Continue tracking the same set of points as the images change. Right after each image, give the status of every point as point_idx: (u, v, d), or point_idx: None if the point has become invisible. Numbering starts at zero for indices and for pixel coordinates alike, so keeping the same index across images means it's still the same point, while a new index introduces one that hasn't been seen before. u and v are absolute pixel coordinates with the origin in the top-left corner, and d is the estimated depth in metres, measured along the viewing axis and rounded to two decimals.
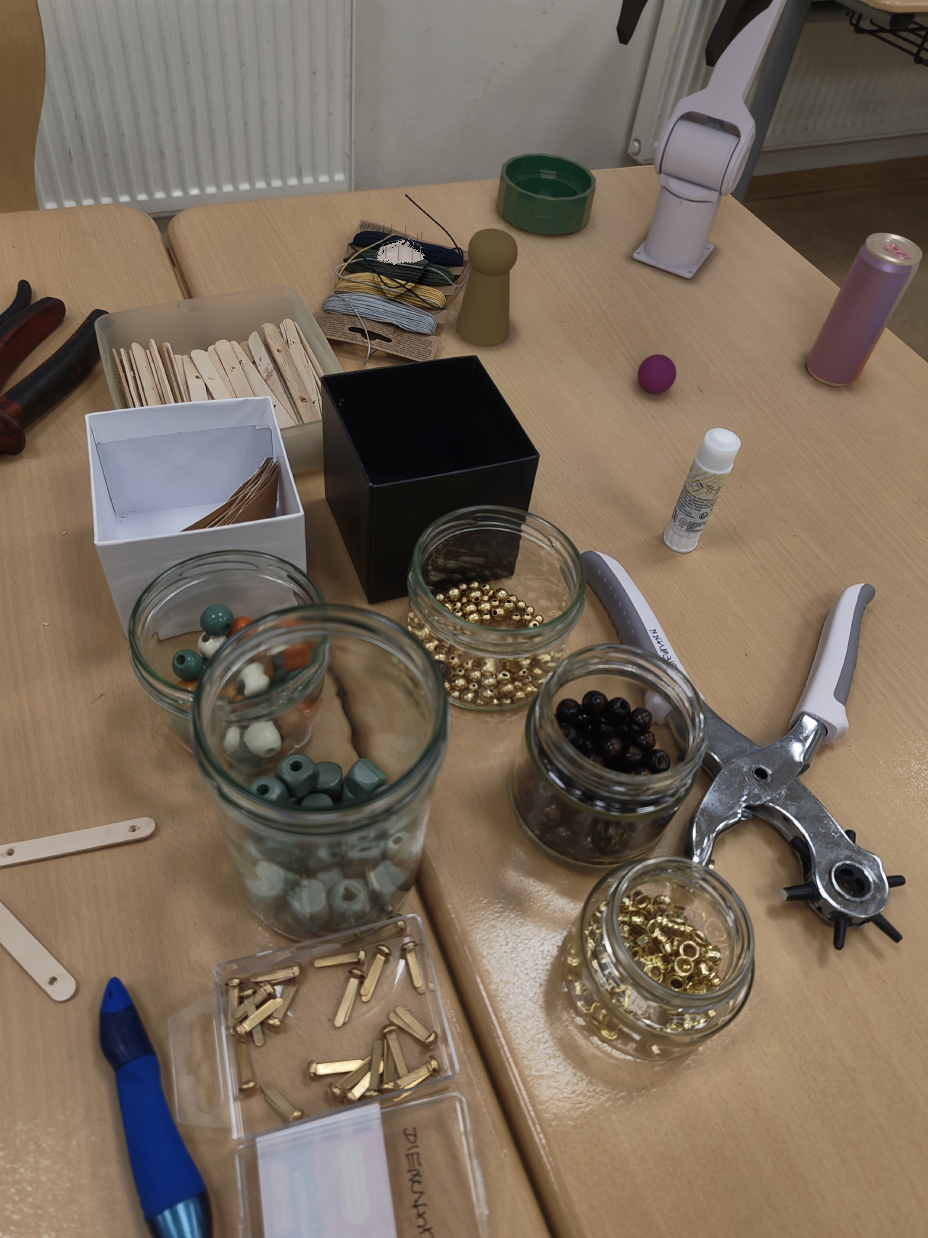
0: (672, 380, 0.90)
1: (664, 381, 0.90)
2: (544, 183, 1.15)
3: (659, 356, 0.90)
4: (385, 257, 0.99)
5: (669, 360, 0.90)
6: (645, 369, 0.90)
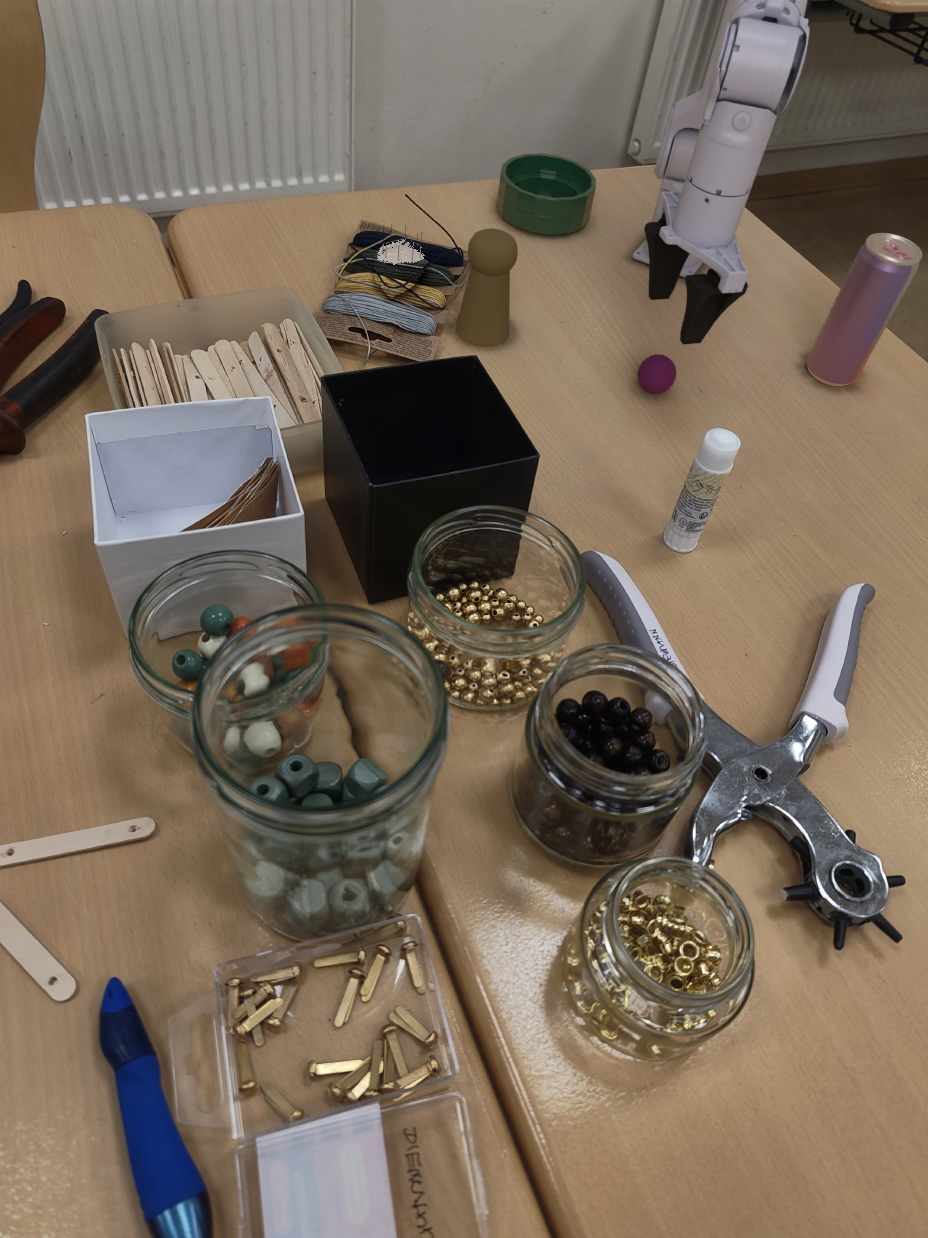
0: (672, 380, 0.90)
1: (664, 381, 0.90)
2: (544, 183, 1.15)
3: (659, 356, 0.90)
4: (385, 257, 0.99)
5: (669, 360, 0.90)
6: (645, 369, 0.90)
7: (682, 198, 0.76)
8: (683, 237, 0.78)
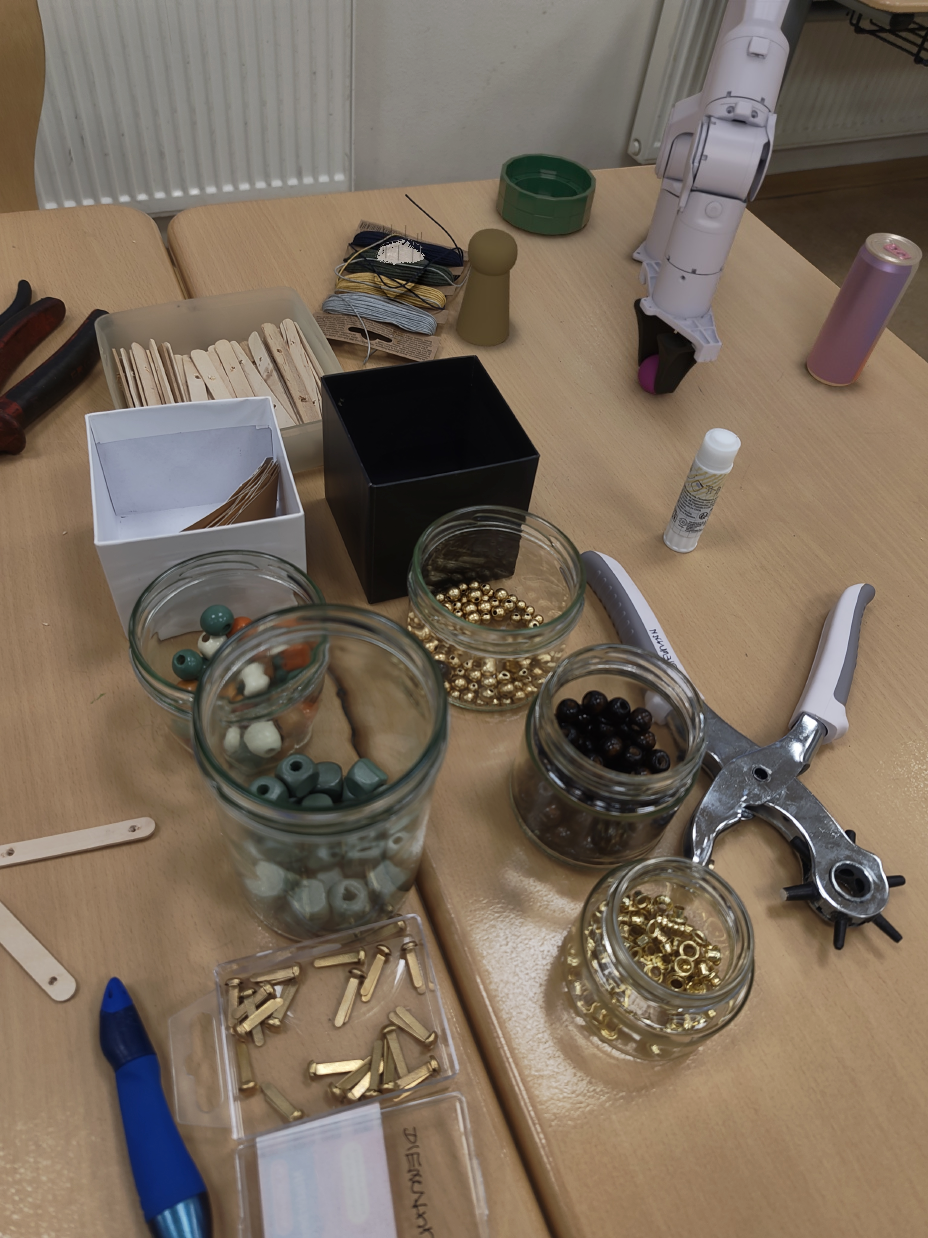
0: None
1: None
2: (544, 183, 1.15)
3: None
4: (385, 257, 0.99)
5: None
6: (645, 369, 0.90)
7: (660, 273, 0.82)
8: (662, 309, 0.83)
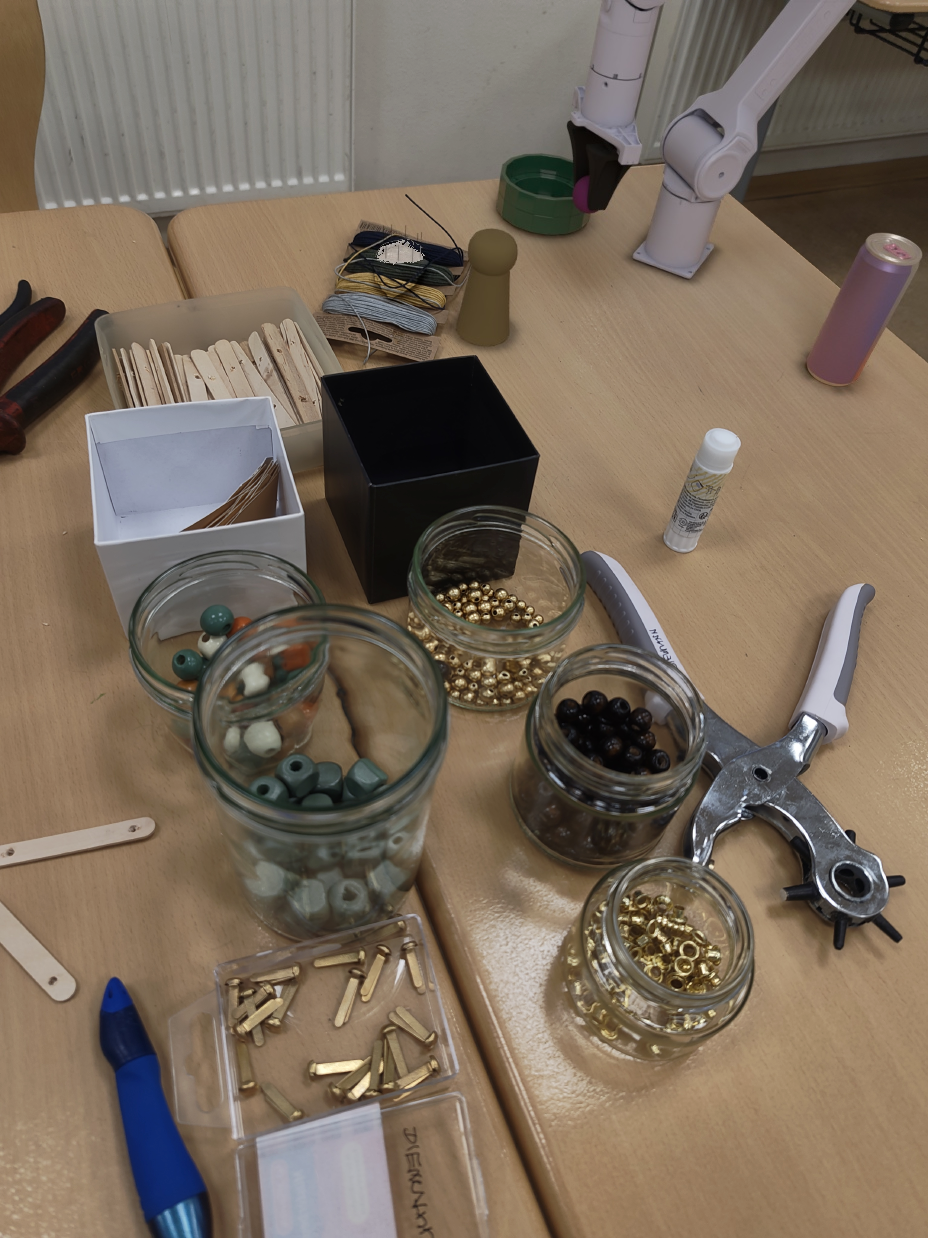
0: None
1: None
2: (544, 183, 1.15)
3: None
4: (385, 257, 0.99)
5: None
6: (578, 187, 0.98)
7: (587, 84, 0.90)
8: (589, 119, 0.92)
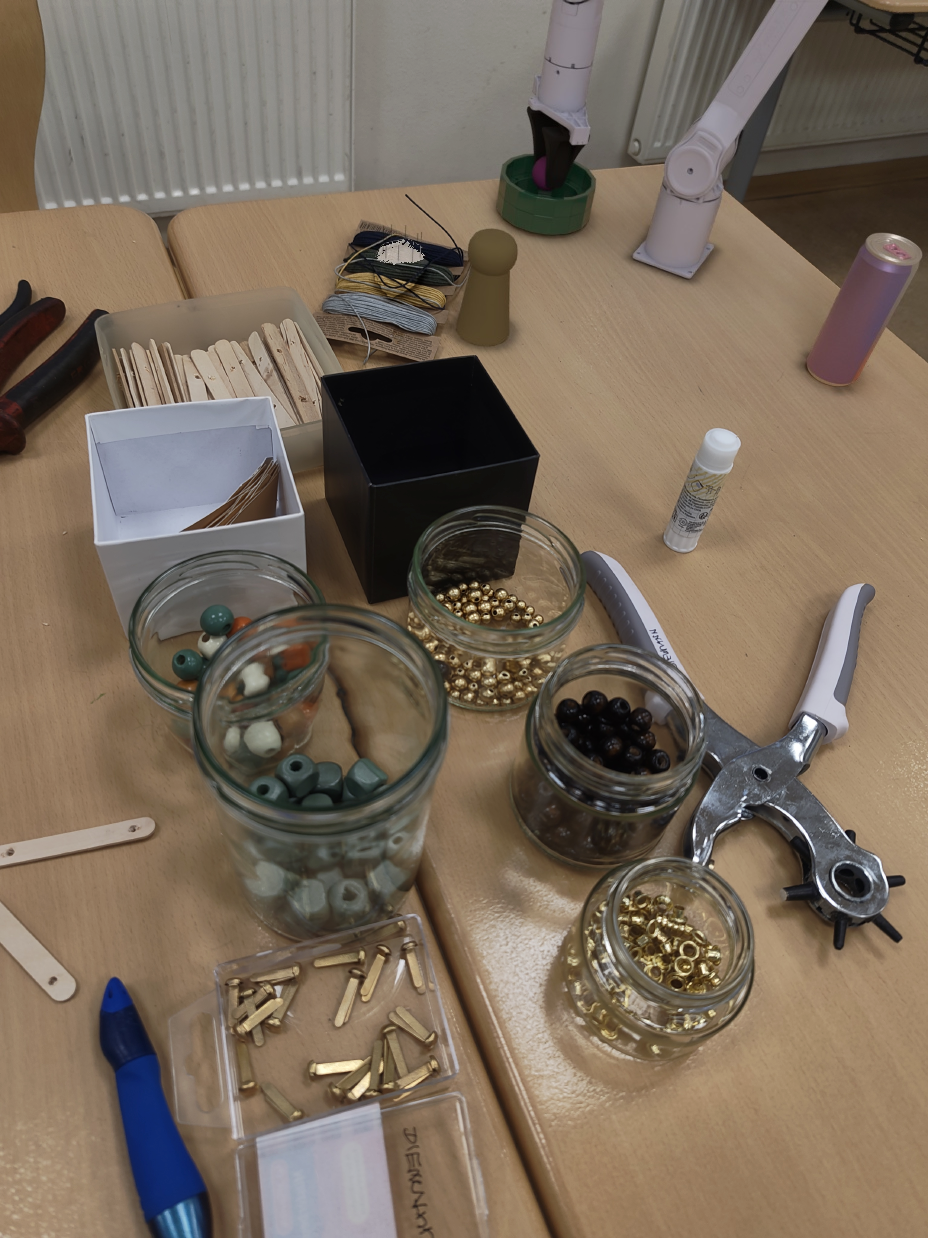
0: None
1: None
2: None
3: None
4: (385, 257, 0.99)
5: None
6: (537, 166, 1.09)
7: (542, 72, 1.01)
8: (544, 104, 1.02)
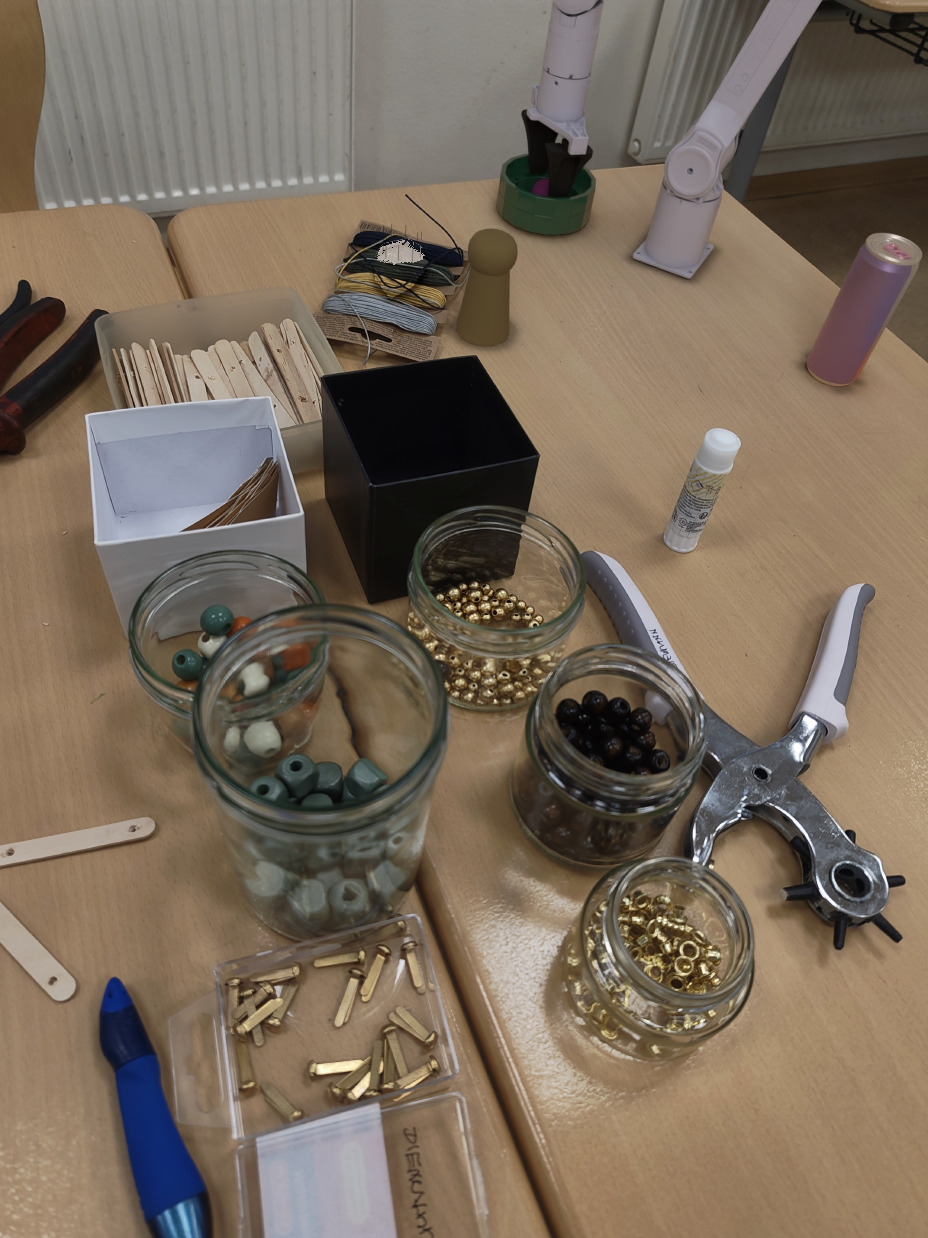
0: None
1: None
2: None
3: (547, 179, 1.11)
4: (385, 257, 0.99)
5: None
6: (535, 189, 1.11)
7: (540, 83, 1.01)
8: (543, 114, 1.03)
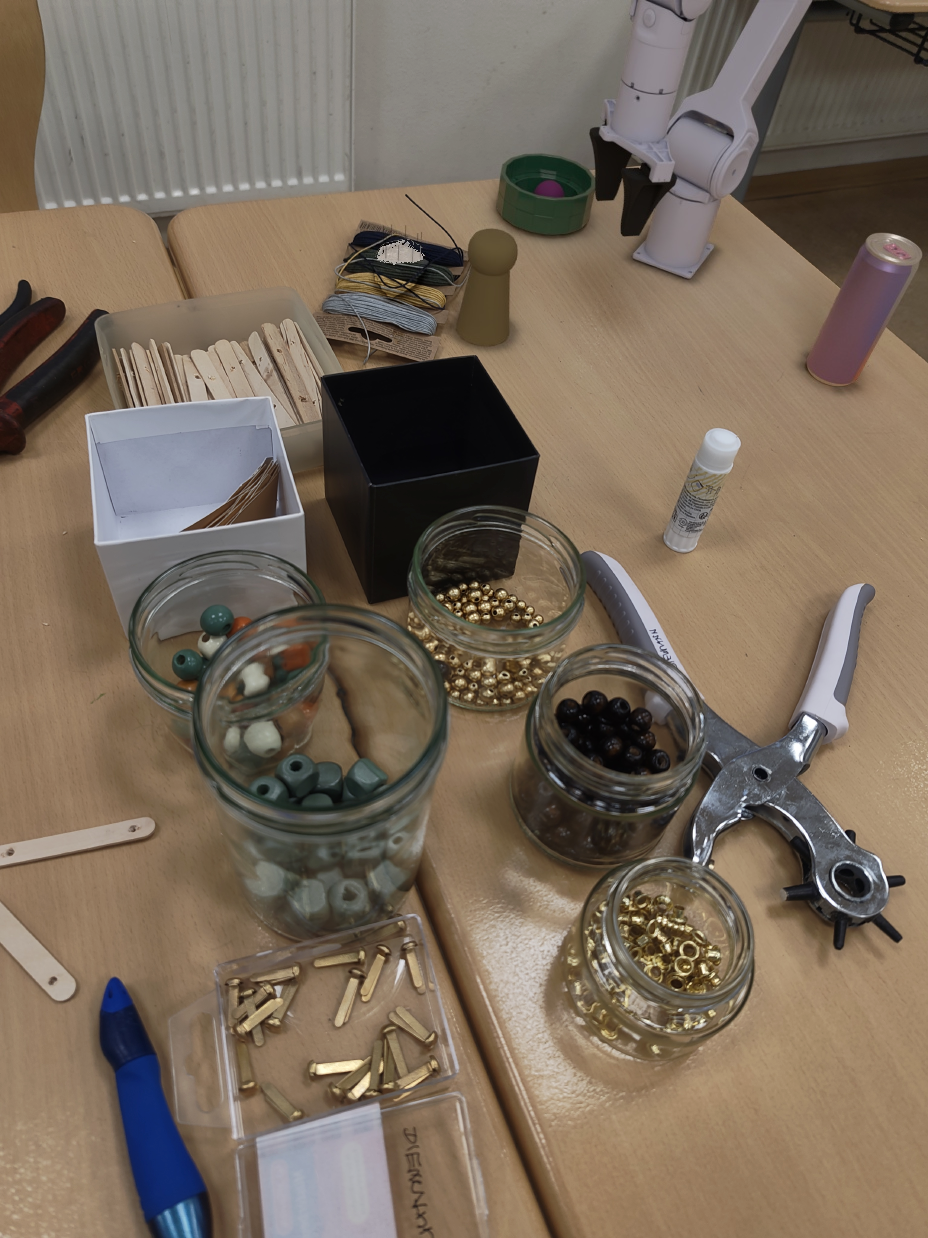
0: None
1: None
2: None
3: (553, 182, 1.10)
4: (385, 257, 0.99)
5: (560, 188, 1.11)
6: (540, 190, 1.10)
7: (617, 98, 0.86)
8: (619, 134, 0.88)
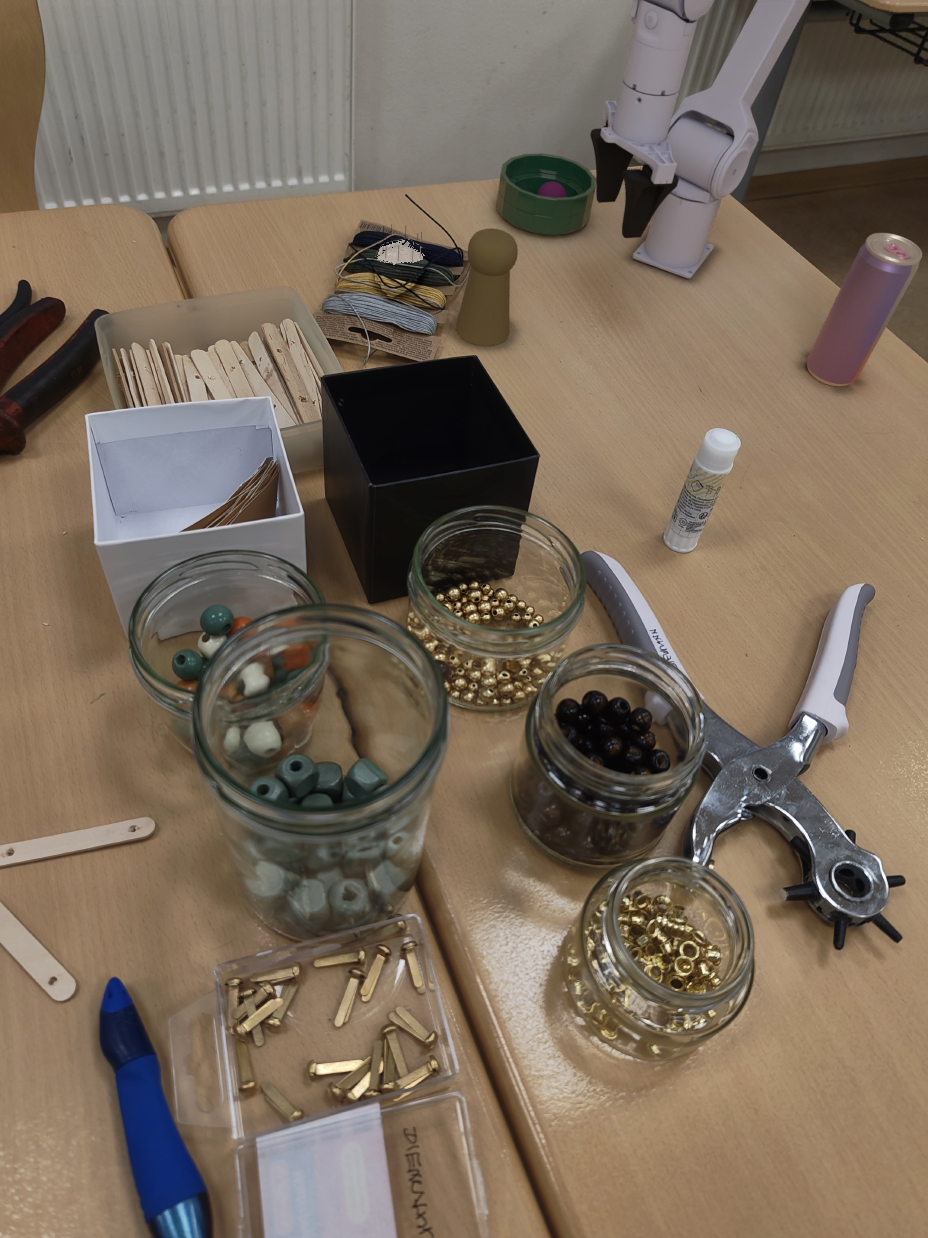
0: None
1: None
2: (544, 183, 1.15)
3: (559, 186, 1.10)
4: (385, 257, 0.99)
5: (564, 193, 1.11)
6: (545, 192, 1.10)
7: (619, 100, 0.86)
8: (621, 136, 0.87)
